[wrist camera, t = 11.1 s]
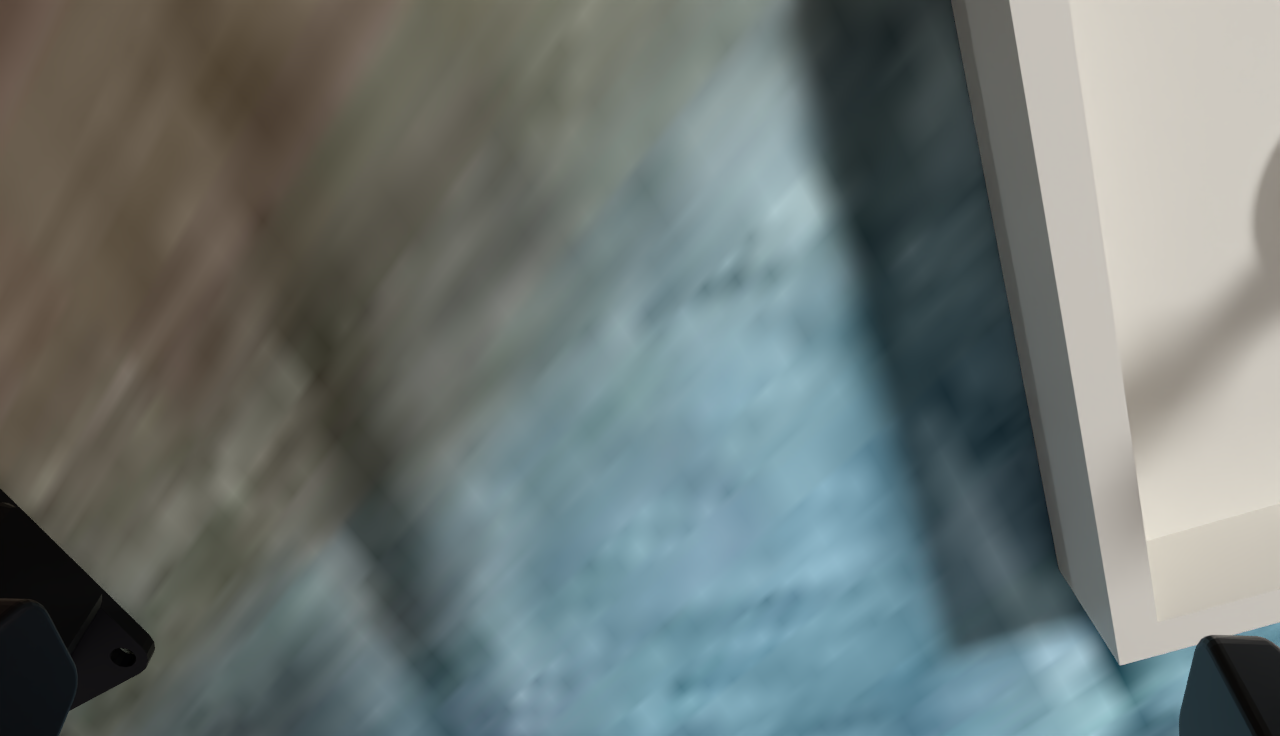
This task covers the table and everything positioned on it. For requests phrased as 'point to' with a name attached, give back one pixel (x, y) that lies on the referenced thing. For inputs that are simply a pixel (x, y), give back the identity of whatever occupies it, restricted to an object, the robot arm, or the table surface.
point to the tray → (1143, 295)
